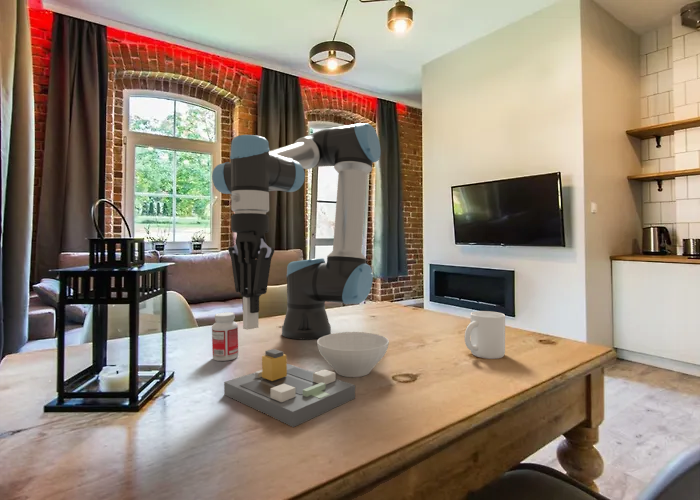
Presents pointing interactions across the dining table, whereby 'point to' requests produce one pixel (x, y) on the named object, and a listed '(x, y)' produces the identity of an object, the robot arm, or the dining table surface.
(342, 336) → the bowl
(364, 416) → the dining table surface
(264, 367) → the breaker handle
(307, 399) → the panel
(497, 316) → the mug
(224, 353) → the pill bottle
